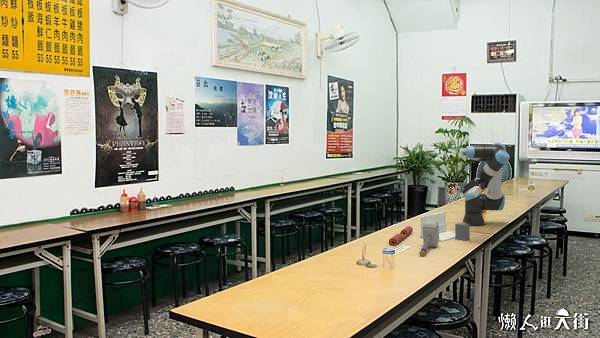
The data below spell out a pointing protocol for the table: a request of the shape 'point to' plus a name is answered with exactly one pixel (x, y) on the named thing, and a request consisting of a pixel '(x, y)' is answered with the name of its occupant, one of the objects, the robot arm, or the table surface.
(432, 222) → the grey angled piece
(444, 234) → the rail panel
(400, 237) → the blood vessel
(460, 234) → the block
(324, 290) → the table surface
